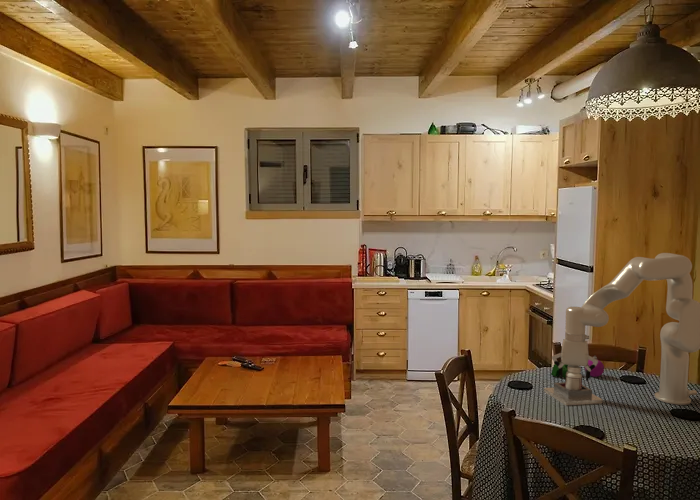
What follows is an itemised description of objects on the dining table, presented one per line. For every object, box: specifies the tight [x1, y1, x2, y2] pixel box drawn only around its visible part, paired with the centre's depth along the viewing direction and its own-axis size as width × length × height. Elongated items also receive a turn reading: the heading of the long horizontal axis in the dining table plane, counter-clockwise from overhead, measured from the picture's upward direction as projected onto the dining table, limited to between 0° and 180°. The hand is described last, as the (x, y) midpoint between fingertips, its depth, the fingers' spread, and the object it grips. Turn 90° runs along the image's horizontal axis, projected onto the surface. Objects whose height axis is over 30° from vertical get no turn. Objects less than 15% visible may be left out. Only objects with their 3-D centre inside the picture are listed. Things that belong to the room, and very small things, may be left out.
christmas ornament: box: [584, 356, 605, 378], centre depth 243 cm, size 8×8×10 cm
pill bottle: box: [565, 365, 583, 390], centre depth 216 cm, size 6×6×11 cm
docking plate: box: [543, 381, 603, 407], centre depth 216 cm, size 16×16×4 cm
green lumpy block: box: [550, 361, 568, 379], centre depth 244 cm, size 12×6×9 cm, turn 126°
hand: (574, 378), depth 216 cm, fingers open, 9 cm apart
